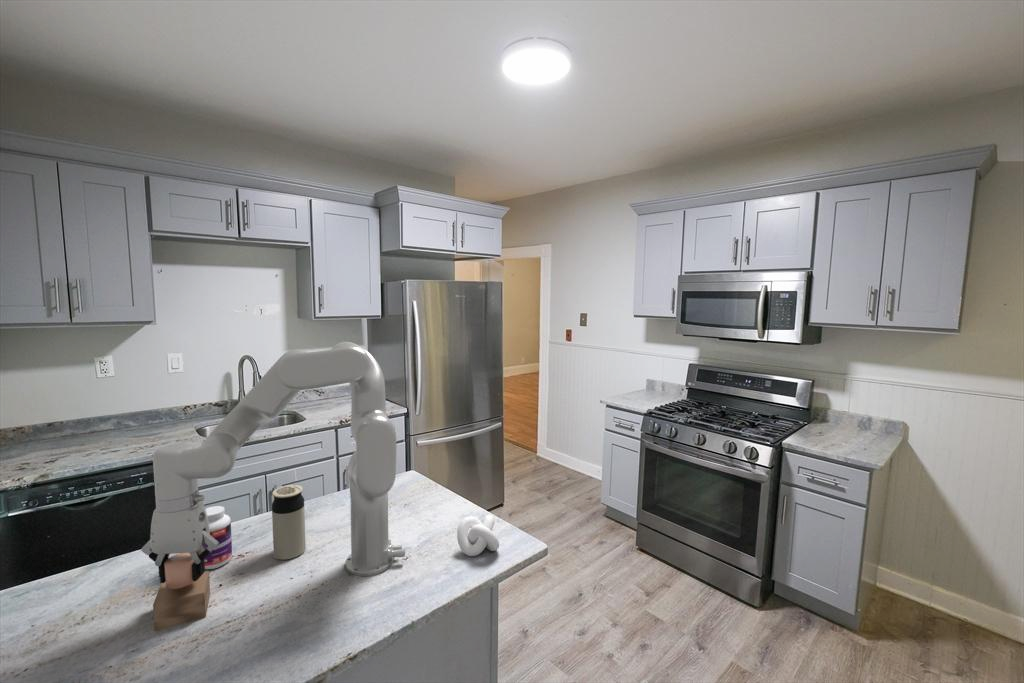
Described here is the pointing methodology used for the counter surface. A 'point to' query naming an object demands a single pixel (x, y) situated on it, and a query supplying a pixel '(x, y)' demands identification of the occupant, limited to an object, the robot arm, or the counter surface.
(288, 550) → the travel mug
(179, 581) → the peach rounded cylinder
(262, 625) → the counter surface
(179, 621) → the walnut box
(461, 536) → the white knot sculpture
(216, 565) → the pill bottle
